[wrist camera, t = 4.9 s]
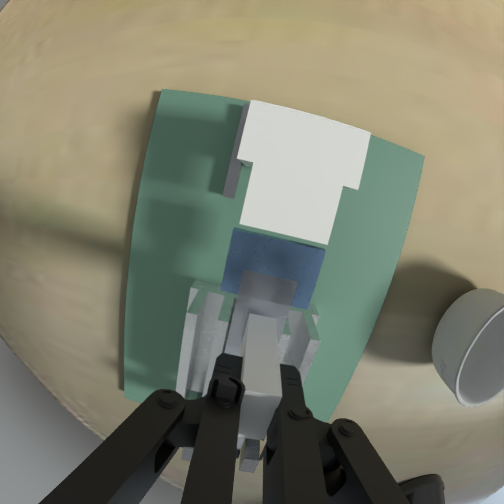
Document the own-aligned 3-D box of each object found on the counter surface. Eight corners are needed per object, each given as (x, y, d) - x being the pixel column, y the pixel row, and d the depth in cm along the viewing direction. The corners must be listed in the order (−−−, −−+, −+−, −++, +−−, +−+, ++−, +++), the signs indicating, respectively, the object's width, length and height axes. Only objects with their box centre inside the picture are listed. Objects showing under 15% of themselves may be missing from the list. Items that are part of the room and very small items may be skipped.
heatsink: (274, 408, 28) (276, 475, 20) (180, 389, 28) (157, 452, 19) (356, 139, 22) (406, 120, 13) (234, 107, 21) (219, 68, 13)
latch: (314, 223, 22) (342, 248, 14) (237, 205, 22) (223, 220, 14) (332, 147, 21) (371, 132, 13) (255, 127, 21) (251, 99, 13)
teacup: (401, 348, 26) (435, 396, 18) (459, 257, 24) (511, 284, 16) (467, 380, 27) (497, 417, 20) (515, 309, 25) (554, 336, 17)
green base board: (317, 431, 29) (318, 437, 28) (127, 392, 29) (124, 397, 28) (419, 156, 22) (424, 156, 21) (165, 92, 21) (162, 88, 20)
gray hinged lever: (249, 451, 22) (248, 463, 20) (192, 440, 21) (189, 451, 20) (322, 246, 16) (327, 253, 15) (234, 225, 16) (232, 230, 15)
